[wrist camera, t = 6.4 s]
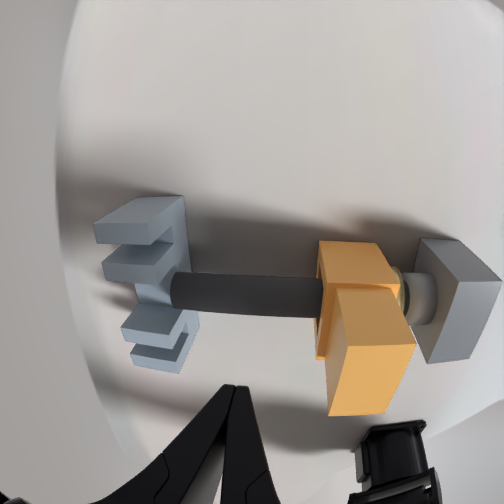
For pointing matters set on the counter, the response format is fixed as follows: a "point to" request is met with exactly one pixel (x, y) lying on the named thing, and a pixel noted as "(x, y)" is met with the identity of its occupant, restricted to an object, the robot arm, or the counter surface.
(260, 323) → the counter surface
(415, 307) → the connector
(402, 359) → the sleeve
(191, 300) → the black rod
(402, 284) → the band
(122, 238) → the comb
